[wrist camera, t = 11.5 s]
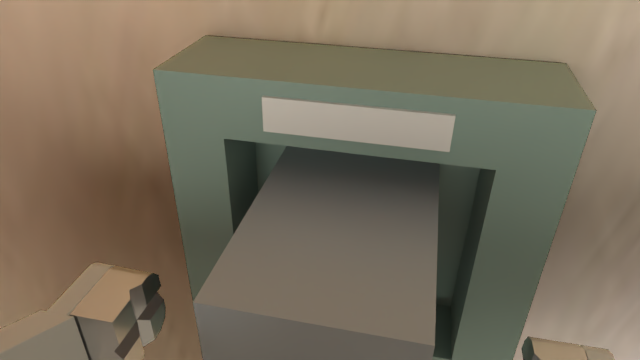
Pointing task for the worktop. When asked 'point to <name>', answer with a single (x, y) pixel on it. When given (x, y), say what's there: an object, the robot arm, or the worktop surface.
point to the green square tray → (391, 142)
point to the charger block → (328, 264)
